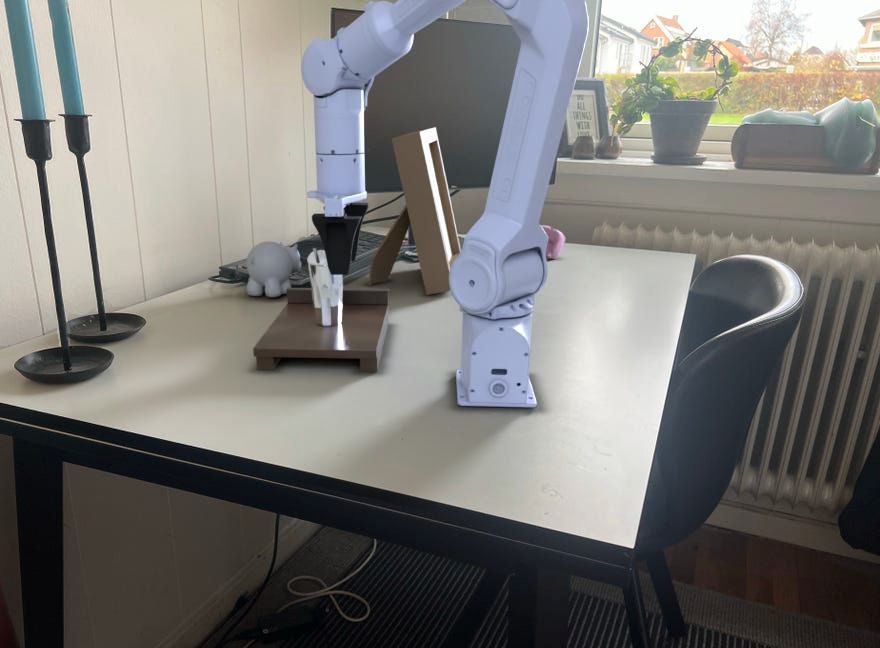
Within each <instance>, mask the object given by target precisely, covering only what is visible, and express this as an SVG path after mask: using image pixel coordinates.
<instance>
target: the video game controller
mask: <svg viewBox="0 0 880 648" xmlns="http://www.w3.org/2000/svg"><path fill="white" fill-rule="evenodd" d="M540 226H541V227H542V228H543V230H544V231H545V232H546V234H547V235H548V238H549V239H548V243H547V247H546V256H550V257H551V259H552V260H556V259H557V258H558V257H559V256H560V253H561V252H562V250H563V249H562V248H563V245H564V244H565V242H566V237H565V235H564V234H563V232H561V231H560V230H559V229H557V228H555V227H552V226H550V225H543V224H540Z"/></svg>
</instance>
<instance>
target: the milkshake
mask: <svg viewBox="0 0 880 648" xmlns="http://www.w3.org/2000/svg"><path fill="white" fill-rule="evenodd" d="M306 260H307V268H308V274H309V282H310V288H311V289H312V297H313V306H314V315H315V322H316V324H317V325H321V326H333V325H338V324H339V323H341V320H342V298H343V289H344V276H345V275H331V273H330V271H329V267H328V263H327V259H326V255H325V250H324V249H317V248H316V247H313V248H312V251H311V252H310V253H309V255H308V256H307V259H306Z"/></svg>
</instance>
